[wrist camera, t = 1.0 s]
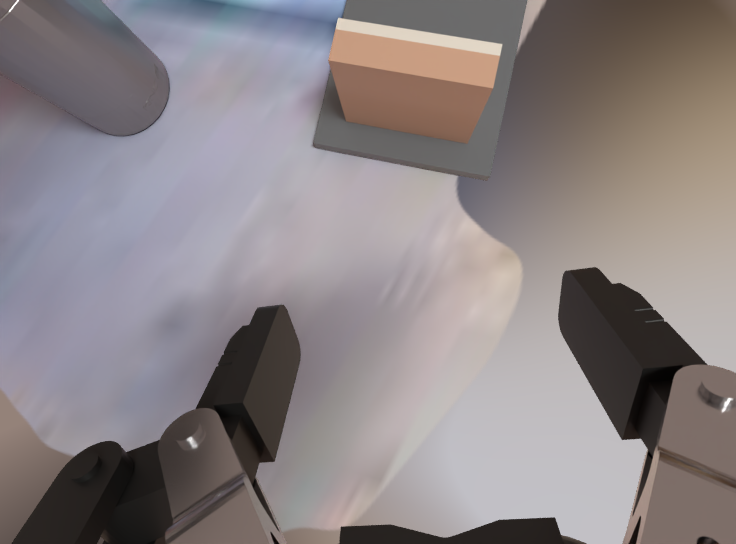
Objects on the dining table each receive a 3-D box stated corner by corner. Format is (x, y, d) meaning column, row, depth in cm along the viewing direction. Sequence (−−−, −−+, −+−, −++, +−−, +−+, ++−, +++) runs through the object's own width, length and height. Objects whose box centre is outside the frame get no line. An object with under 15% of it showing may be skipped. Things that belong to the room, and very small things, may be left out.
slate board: (316, 148, 36) (313, 142, 35) (367, -72, 37) (366, -84, 36) (486, 180, 34) (490, 176, 33) (535, -49, 35) (539, -61, 34)
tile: (346, 121, 34) (328, 60, 26) (353, 89, 35) (338, 17, 26) (467, 143, 34) (493, 88, 25) (474, 110, 34) (502, 43, 25)
